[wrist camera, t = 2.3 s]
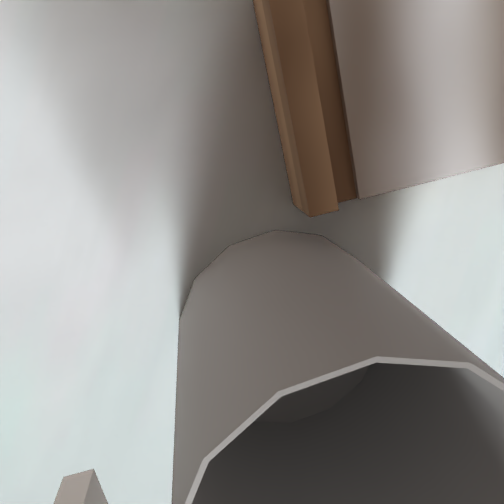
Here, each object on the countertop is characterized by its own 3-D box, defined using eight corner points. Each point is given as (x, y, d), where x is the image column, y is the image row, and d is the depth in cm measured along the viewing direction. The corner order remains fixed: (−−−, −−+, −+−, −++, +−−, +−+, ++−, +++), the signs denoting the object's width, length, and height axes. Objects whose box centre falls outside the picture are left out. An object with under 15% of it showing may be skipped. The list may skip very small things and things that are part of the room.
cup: (407, 353, 20) (605, 561, 11) (247, 448, 20) (301, 735, 11) (320, 190, 18) (478, 272, 8) (138, 300, 18) (82, 507, 8)
